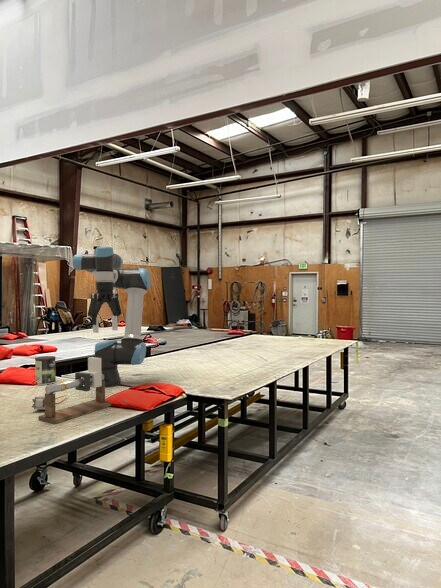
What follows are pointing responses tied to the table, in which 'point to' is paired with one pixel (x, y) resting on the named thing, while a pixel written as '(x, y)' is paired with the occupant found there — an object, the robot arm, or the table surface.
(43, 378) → the coffee can
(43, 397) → the electrical component
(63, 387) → the steel pipe
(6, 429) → the table surface
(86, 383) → the dark gray nut plate
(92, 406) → the pipe stand
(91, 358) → the white u-shaped bracket
